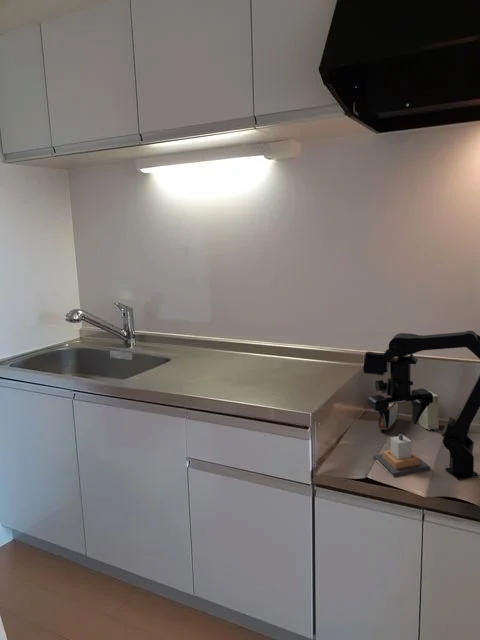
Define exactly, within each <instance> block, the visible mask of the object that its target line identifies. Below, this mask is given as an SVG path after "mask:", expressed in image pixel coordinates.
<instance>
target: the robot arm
mask: <svg viewBox="0 0 480 640" xmlns="http://www.w3.org/2000/svg"><path fill="white" fill-rule="evenodd" d="M459 348H466V349H468V350H469V351H470V352H472V353H473V355H474V356H476V357H477V358H478V359H479V360H480V335H479V334H477V332H476V331H473V330H466V331H459V332H450V333H449V332H448V333H438V334H436V333H435V334H427V335H426V334H425V335H423V334H422V335H421V334H415V333H406V332H400V333H396V334H395V335H394V336H393V337H392V338H391V339H390V341H389V343H388V348H387V349H386V350H385V351H384V352H373V351H367V352H365V358H364V362H363V366H362V367H363V368H362V369H363V370H362V371H363V374H364V375H373V376H381V377H382V376H385V375H386V374H387V373H389V374H390V375H389V377H388V378H387V382H385V381H384V380H383V379H382V380H381V379H379V380H376V381H375V384H374V385H375V391H376V392H381V394H386V396H389V397H384V396H383V395H381V394H375V395H369V396H368V398H367V406H368V407H370V408H371V409H373V410H374V411H376V412H378V415H379V414H380V416H381V419H382V422H383V424H384V427H385V429H388V426H389V413H390V410H388V407H389V404H394V403H398V404H399V403H407V402H410V403H411V406H412V408H411V409H412V412H411V414H412V415H411V416H412V417H411V420H412V421H411V422H412V425H414V426H416V424H417V423H418V422H419V418H420V416H421V414H422V413H423V411H424V410H425V408H426V407H427V406H429V403H433V395H432V393H433V392H432V393H430V392H428V391H429V390H427V389H425V388H417V389H411V386H413V385H414V381H412V380H411V379H412V378H411V377H412V375H411V373H412V372H411V371H412V370H411V367H412V365H417V362H418V361H419V359H418V358H417V357H416V356H414V354H417V353H419V352H422V351H423V352H424V351H434V350H436V351H437V350H448V349H459ZM389 370H390V371H389ZM479 410H480V374H479V375H478V377H477V379H476V381H475V383H474V385H473V386H472V388H471V390H470V392H469V394H468V395H467V398H466V400H465V402H464V403H463V406H462V407H461V410H460V412H459V414H458V415H457V416H456V417H455V418H453V417H451V416H449V419H448V422H447V424H446V425H445V426H444V428H443V430H442V434H441V437H443V438H442V444H443V445H444V448H445V449H446V450H448V451H449V466H448V467H446V468H445V471H446V472H448V473H449V475H452V476H453V477H454V478H455V479H457V480H465V479H469V478H474V477H479V474H478V472H476V471H475V470H474V466H475V465H474V464H475V463H474V462H475V461H474V460H475V456H474V455H473V450H474V445H475V441H474V440H472V438H470V437H469V436H468V434H469V431H470V427H471V424H472V422H473V421H474V419H475V418H476V417H475V416H476V415H477V413H478V411H479ZM388 430H389V429H388Z"/></svg>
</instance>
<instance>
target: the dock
mask: <svg viewBox="0 0 480 640" xmlns="http://www.w3.org/2000/svg"><path fill="white" fill-rule="evenodd" d="M372 459H373V460H374V461H375V460H378V461H379V462H380V463H381V464H382V465H383V466H384V467H385V468H386V469H387V470H388V471H389V472H390V473H391V474H392V475H393V476H392V475H391V474H390V473H389V472H388V471H387V472H388V473H389V474H390V475H391V476H392V477H396V476H395V475H398V476H404V475H408V473H409V474H412V473H418V472H419V473H420V472H424V471H430V470H431V466H430V465H428V463H426V462H425V461H424V460H423V459H421V458H420V457H419V456H417V454H415V453H413V452H412V451H411V458H409V459H403V460H398V461H397V460H396V459H395V458H393V457H392V456H391V449H387V450H382V451H381V453H380V454H375V455H373V458H372Z"/></svg>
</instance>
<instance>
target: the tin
mask: <svg viewBox="0 0 480 640" xmlns="http://www.w3.org/2000/svg"><path fill="white" fill-rule="evenodd" d="M388 410H390V413H389V426H388V429H385V427H384V424H383V422H382V419H381V416H380V414H379V413H378V420H377V421H378V422H377V424H378V429H379V430H384V431H388V430H390V428H391V427H392V426H393V425H394V424H395V423H396V422H397V419H398V415H399V403H394V404H389V407H388Z"/></svg>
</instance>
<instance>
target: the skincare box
mask: <svg viewBox="0 0 480 640" xmlns="http://www.w3.org/2000/svg"><path fill="white" fill-rule="evenodd" d="M427 391H428V392H430V393H432V395H433V403H429V406H427V407H426V408H425V410H424V411H423V413H422V414H421V416H420V418H419V420H418V424H419V426H421V427H422V428H423V427H424V429H425V428H426V429H428V430H427V431H431V430H430V429H434V430H439V427H440V426H439V425H440V424H439V420H440V419H439V416H440V415H439V395H438V394H436V393H434V392H432V391H430V390H427ZM426 429H425V430H426ZM434 430H433V431H434Z"/></svg>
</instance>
